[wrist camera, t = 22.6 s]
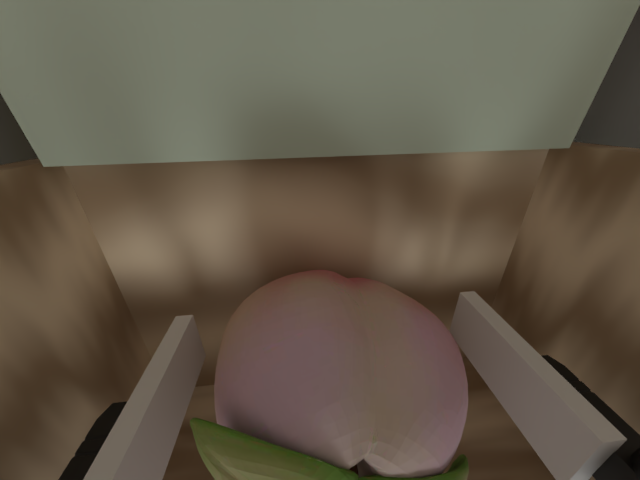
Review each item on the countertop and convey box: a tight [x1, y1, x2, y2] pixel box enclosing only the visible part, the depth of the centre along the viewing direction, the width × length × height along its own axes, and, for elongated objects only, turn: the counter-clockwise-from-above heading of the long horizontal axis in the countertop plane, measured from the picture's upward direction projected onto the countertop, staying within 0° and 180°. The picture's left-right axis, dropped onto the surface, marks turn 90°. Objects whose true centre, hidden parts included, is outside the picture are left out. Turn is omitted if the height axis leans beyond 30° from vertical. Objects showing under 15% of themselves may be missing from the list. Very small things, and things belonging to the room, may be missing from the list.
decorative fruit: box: [190, 270, 469, 480], centre depth 10 cm, size 9×8×10 cm
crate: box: [0, 142, 640, 480], centre depth 12 cm, size 16×24×9 cm, turn 91°
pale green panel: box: [0, 0, 640, 167], centre depth 9 cm, size 2×21×8 cm
